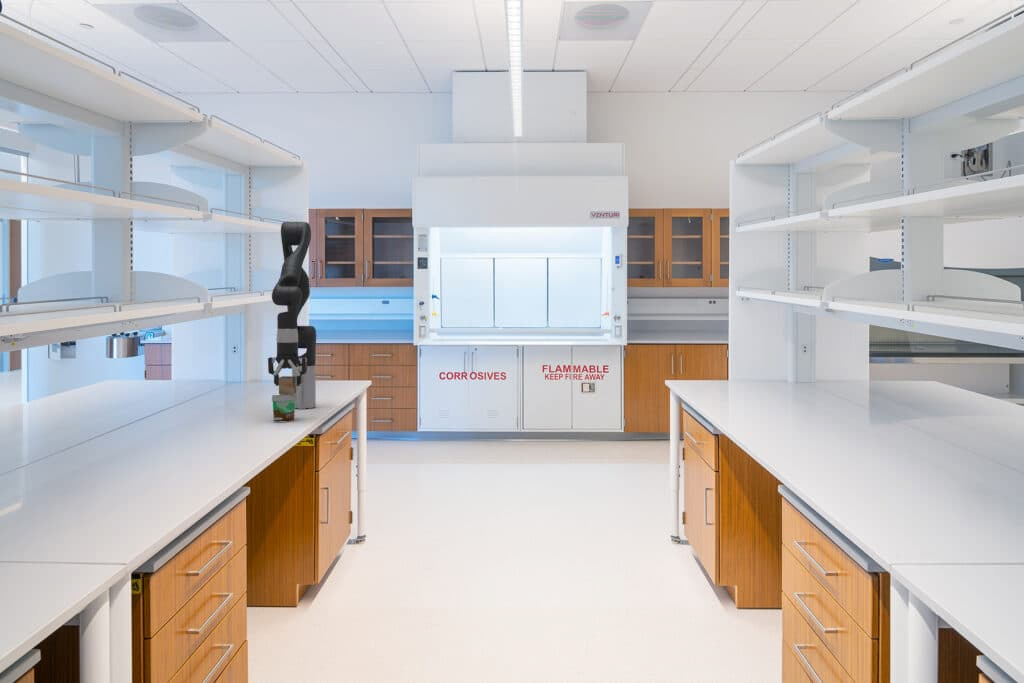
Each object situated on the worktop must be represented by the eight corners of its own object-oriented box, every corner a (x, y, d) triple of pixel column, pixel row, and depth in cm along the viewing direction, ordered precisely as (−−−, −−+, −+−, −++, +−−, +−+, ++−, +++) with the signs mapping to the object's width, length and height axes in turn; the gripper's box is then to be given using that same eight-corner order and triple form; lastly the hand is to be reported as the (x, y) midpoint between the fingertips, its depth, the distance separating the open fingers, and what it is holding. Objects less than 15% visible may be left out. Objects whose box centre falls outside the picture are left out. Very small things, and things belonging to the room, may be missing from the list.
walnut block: (282, 392, 292) (282, 376, 292) (296, 392, 292) (296, 376, 292) (278, 394, 287) (278, 377, 287) (292, 394, 287) (292, 377, 287)
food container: (287, 423, 284) (287, 395, 283) (271, 422, 285) (271, 395, 284) (303, 417, 296) (303, 391, 295) (288, 417, 297) (287, 390, 296)
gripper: (309, 340, 292) (309, 384, 293) (271, 340, 292) (271, 384, 293) (304, 341, 285) (304, 387, 286) (264, 341, 285) (265, 386, 286)
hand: (287, 385), depth 290 cm, fingers open, 7 cm apart
